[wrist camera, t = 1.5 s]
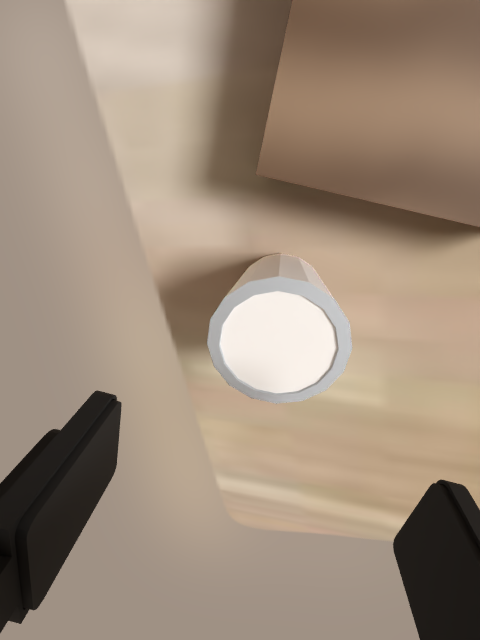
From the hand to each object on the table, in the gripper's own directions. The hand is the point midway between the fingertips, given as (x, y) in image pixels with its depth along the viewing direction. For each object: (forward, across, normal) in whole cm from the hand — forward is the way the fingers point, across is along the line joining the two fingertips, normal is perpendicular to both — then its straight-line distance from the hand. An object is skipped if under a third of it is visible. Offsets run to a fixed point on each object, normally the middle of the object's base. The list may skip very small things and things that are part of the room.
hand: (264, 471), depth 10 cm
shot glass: (+14, 0, -1) cm, 14 cm away
